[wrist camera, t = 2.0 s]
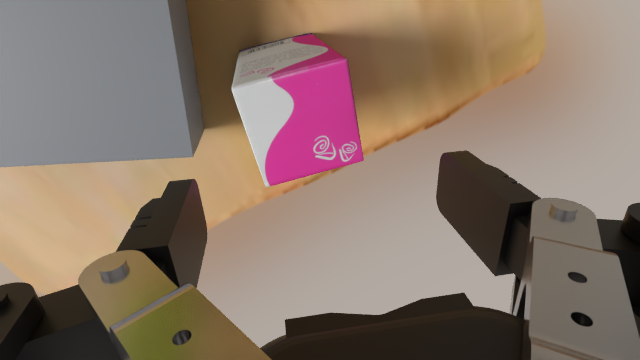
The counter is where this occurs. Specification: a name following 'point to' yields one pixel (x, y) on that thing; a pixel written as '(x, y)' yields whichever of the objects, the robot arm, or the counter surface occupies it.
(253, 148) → the supplement box
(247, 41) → the counter surface
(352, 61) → the counter surface
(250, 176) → the counter surface
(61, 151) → the stacking block
